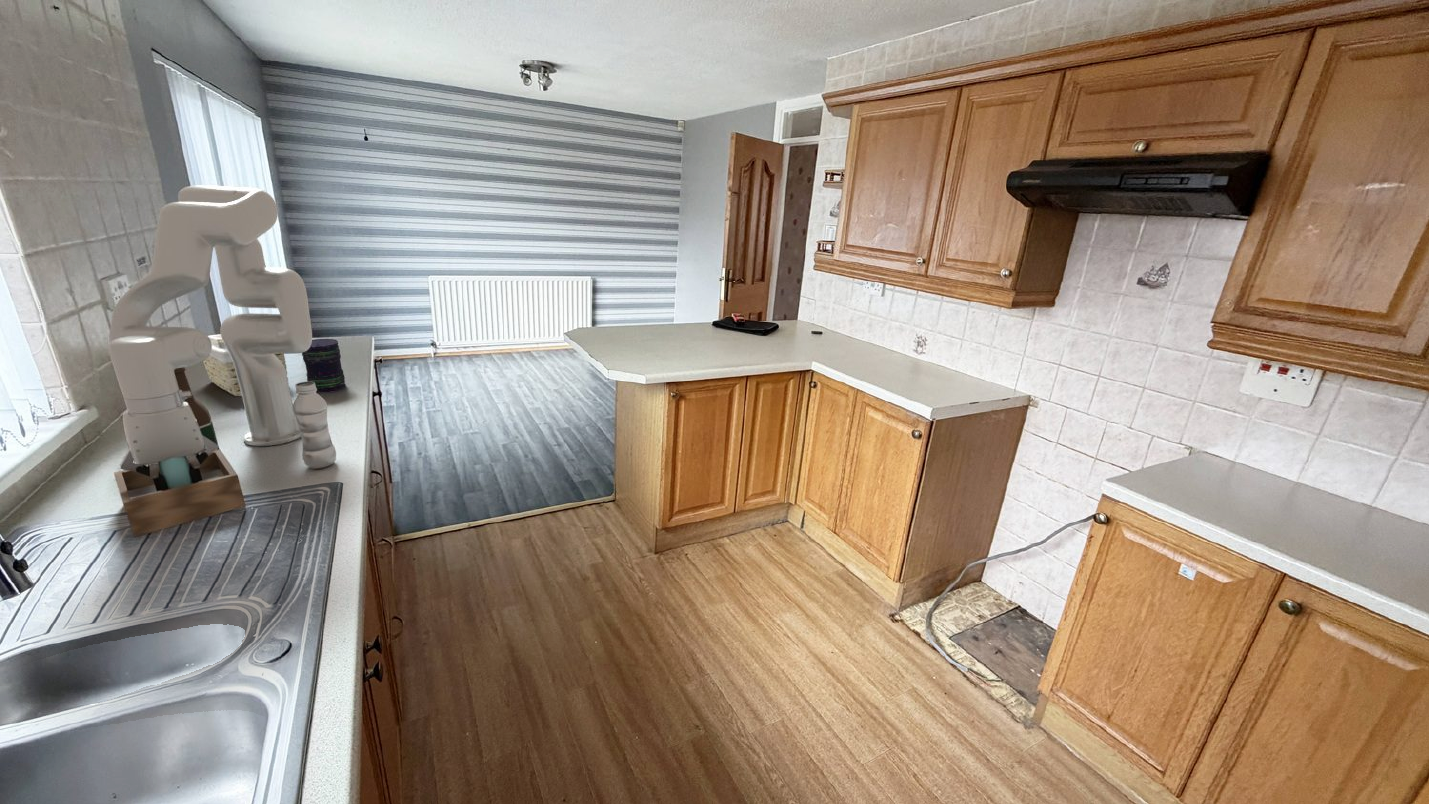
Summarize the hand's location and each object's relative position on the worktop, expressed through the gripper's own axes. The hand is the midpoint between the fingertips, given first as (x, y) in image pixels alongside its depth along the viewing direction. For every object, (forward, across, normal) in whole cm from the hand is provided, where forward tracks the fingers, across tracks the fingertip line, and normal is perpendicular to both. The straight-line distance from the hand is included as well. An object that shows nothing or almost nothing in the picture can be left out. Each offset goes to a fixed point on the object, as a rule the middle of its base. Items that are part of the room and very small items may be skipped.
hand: (180, 488), depth 111 cm
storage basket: (+4, -26, -78) cm, 82 cm away
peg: (+2, 0, 0) cm, 2 cm away
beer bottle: (+4, -5, -17) cm, 18 cm away
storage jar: (+4, -42, -60) cm, 73 cm away
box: (+4, 0, 0) cm, 4 cm away
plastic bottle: (+4, -24, -2) cm, 24 cm away
